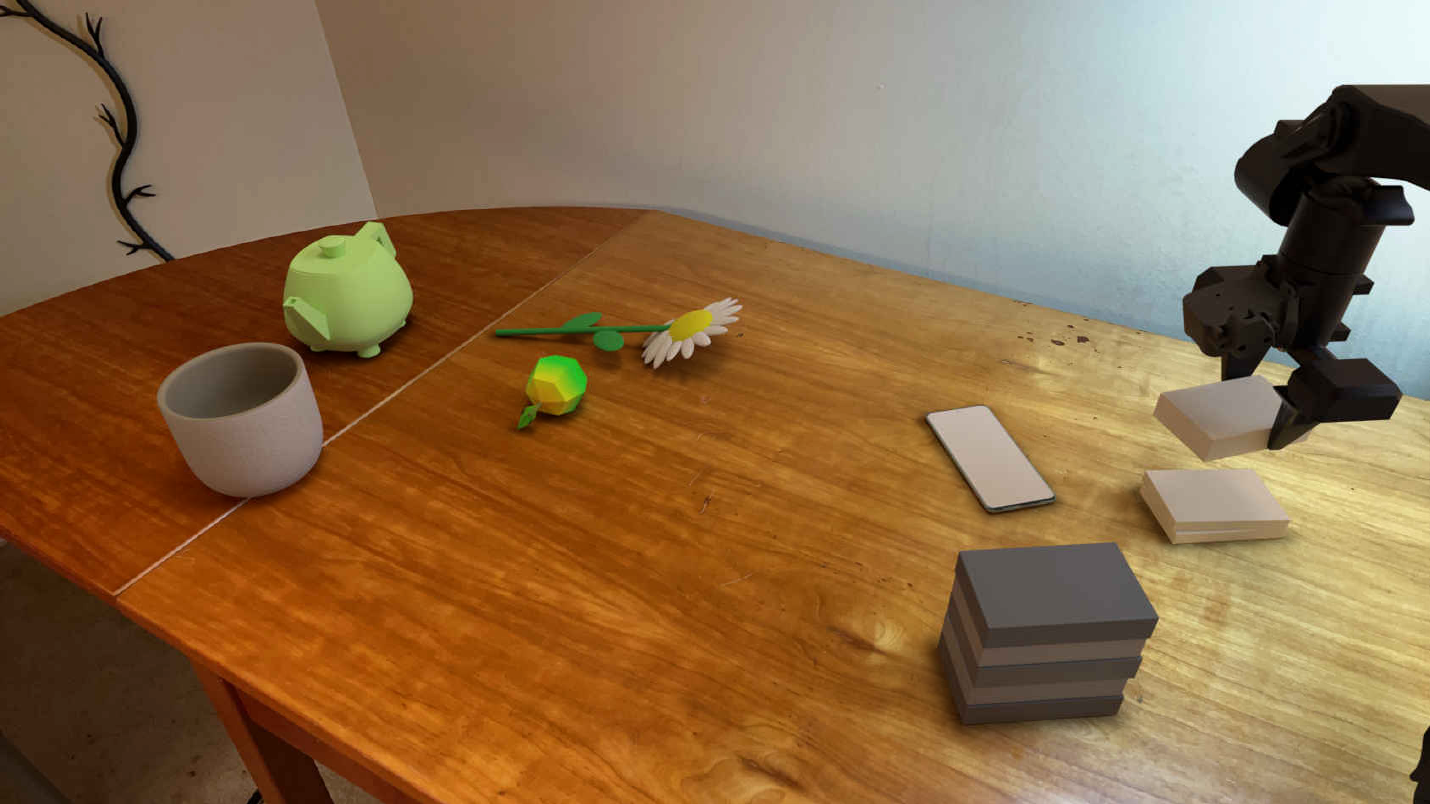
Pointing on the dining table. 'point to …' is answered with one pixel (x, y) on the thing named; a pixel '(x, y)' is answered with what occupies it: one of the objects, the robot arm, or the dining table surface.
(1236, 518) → the beige rectangular slab
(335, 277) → the teapot
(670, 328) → the decorative flower
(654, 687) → the dining table surface
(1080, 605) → the grey stack
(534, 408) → the apple
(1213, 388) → the cream block
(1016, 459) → the smartphone
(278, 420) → the planter
